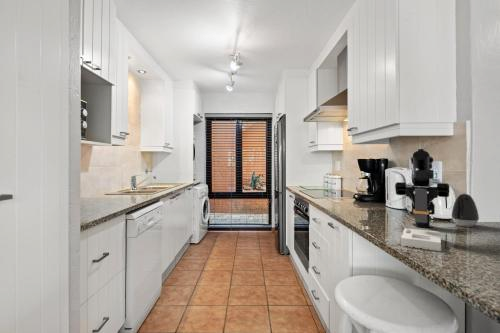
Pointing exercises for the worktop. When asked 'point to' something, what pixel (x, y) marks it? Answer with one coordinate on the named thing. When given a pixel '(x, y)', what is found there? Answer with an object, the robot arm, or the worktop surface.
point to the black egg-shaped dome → (465, 211)
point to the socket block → (421, 239)
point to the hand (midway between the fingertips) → (420, 205)
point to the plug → (421, 205)
